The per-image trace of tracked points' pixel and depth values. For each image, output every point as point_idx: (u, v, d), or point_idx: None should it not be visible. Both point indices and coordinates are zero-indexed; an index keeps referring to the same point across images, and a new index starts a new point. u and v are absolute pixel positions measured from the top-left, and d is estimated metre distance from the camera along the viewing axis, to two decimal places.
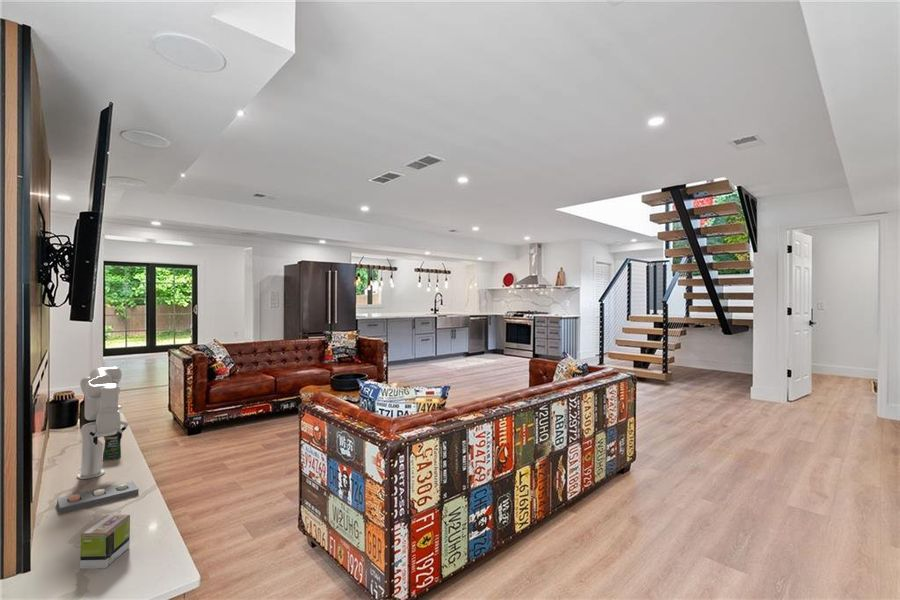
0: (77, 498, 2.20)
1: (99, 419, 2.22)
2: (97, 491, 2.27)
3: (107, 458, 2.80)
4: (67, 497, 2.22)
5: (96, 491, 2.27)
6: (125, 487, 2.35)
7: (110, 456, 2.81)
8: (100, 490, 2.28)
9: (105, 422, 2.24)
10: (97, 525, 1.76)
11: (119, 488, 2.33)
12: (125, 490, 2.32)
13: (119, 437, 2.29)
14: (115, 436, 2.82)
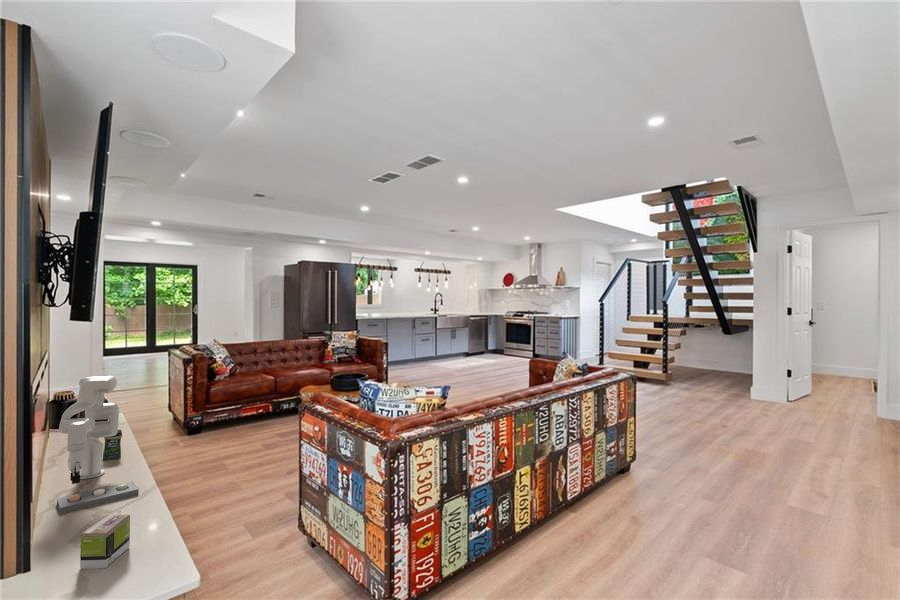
0: (77, 498, 2.20)
1: (82, 455, 2.19)
2: (97, 491, 2.27)
3: (107, 458, 2.80)
4: (67, 497, 2.22)
5: (96, 491, 2.27)
6: (125, 487, 2.35)
7: (110, 456, 2.81)
8: (100, 490, 2.28)
9: None
10: (97, 525, 1.76)
11: (119, 488, 2.33)
12: (125, 490, 2.32)
13: None
14: (115, 436, 2.82)
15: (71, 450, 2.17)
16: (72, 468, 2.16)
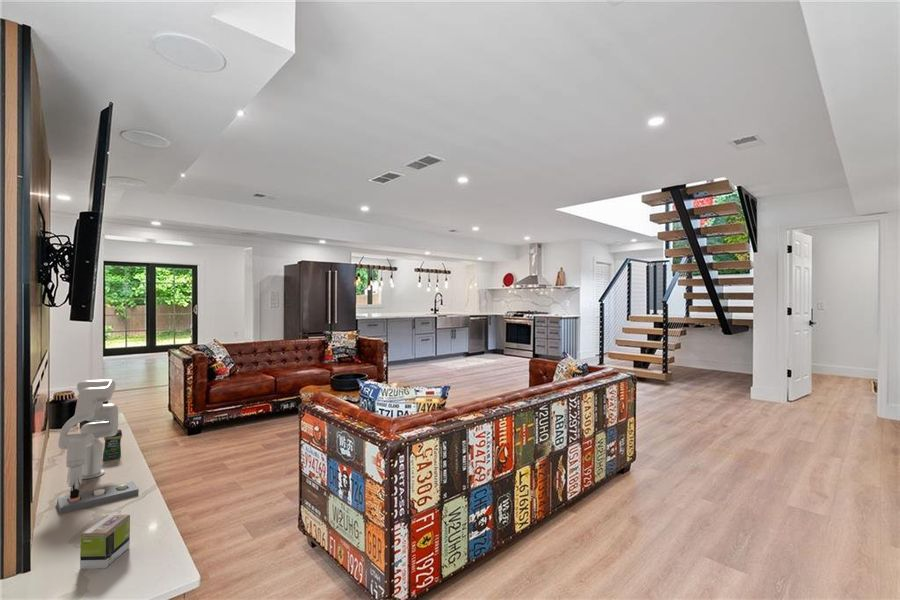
0: (77, 499, 2.20)
1: (81, 471, 2.19)
2: (97, 491, 2.27)
3: (107, 458, 2.80)
4: (67, 497, 2.22)
5: (96, 491, 2.27)
6: (125, 487, 2.35)
7: (110, 456, 2.81)
8: (100, 490, 2.28)
9: None
10: (97, 525, 1.76)
11: (119, 488, 2.33)
12: (125, 490, 2.32)
13: None
14: (115, 436, 2.82)
15: (70, 466, 2.17)
16: (71, 484, 2.16)
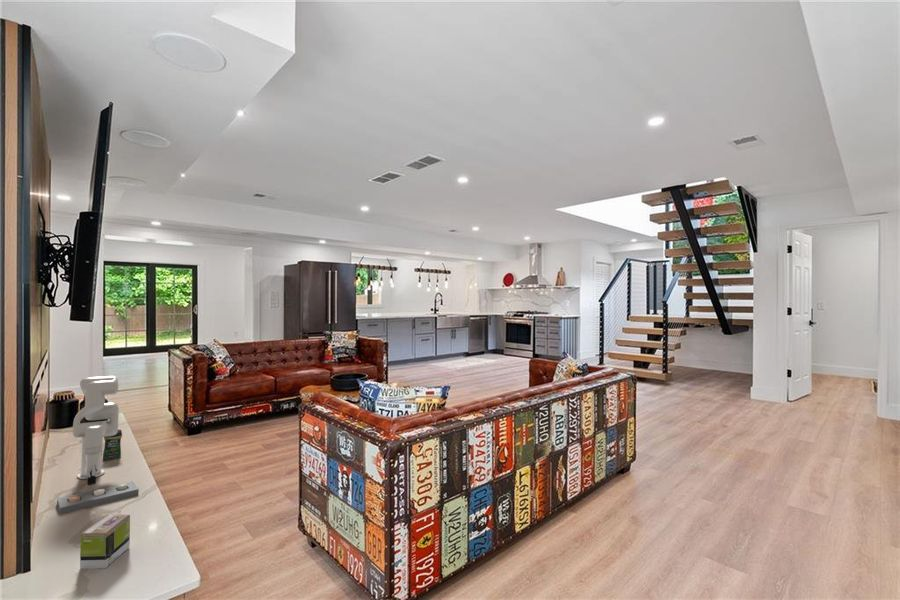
0: (77, 500, 2.20)
1: (98, 458, 2.24)
2: (97, 491, 2.27)
3: (107, 458, 2.80)
4: (67, 497, 2.22)
5: (96, 491, 2.27)
6: (125, 487, 2.35)
7: (110, 456, 2.81)
8: (100, 490, 2.28)
9: None
10: (97, 525, 1.76)
11: (119, 488, 2.33)
12: (125, 490, 2.32)
13: None
14: (115, 436, 2.82)
15: (87, 453, 2.22)
16: (88, 471, 2.21)
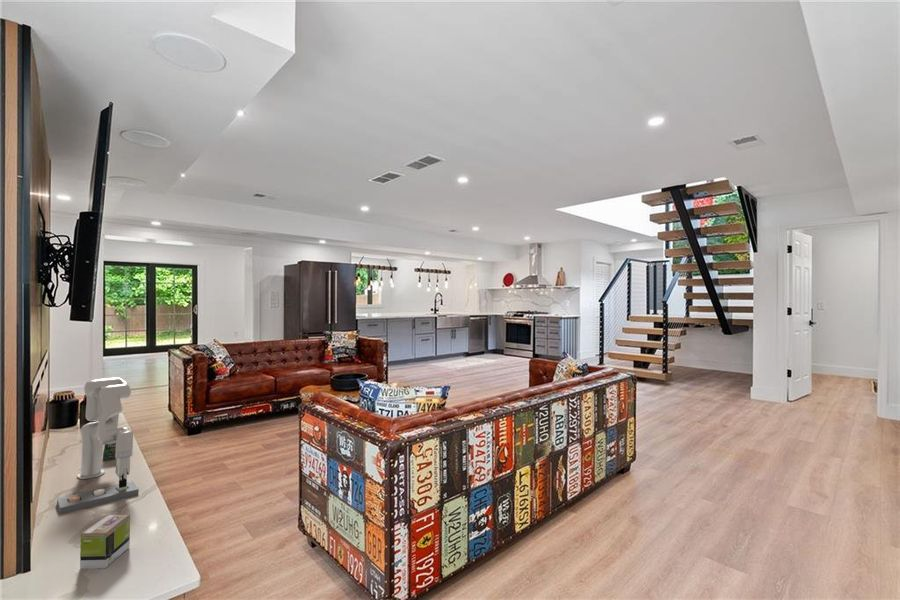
0: (77, 500, 2.20)
1: (129, 461, 2.34)
2: (97, 491, 2.27)
3: (107, 458, 2.80)
4: (67, 497, 2.22)
5: (96, 491, 2.27)
6: (125, 488, 2.35)
7: (110, 456, 2.81)
8: (100, 490, 2.28)
9: None
10: (97, 525, 1.76)
11: (119, 489, 2.33)
12: (125, 490, 2.32)
13: None
14: None
15: (119, 457, 2.32)
16: (121, 474, 2.30)
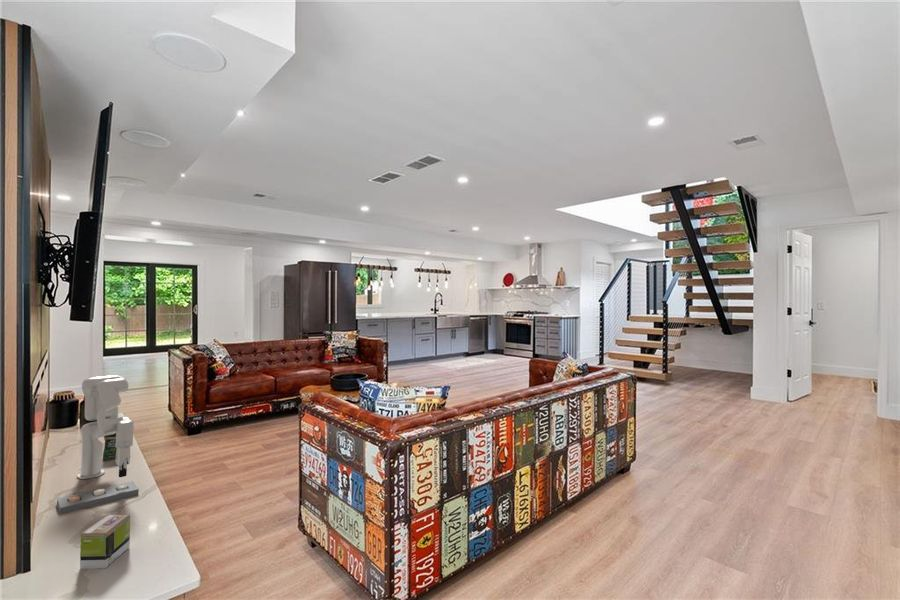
0: (77, 500, 2.20)
1: None
2: (97, 491, 2.27)
3: (107, 458, 2.80)
4: (67, 497, 2.22)
5: (96, 491, 2.27)
6: None
7: (110, 456, 2.81)
8: (100, 490, 2.28)
9: None
10: (97, 525, 1.76)
11: (119, 490, 2.33)
12: (125, 490, 2.32)
13: None
14: (115, 436, 2.82)
15: (120, 447, 2.32)
16: (121, 464, 2.31)
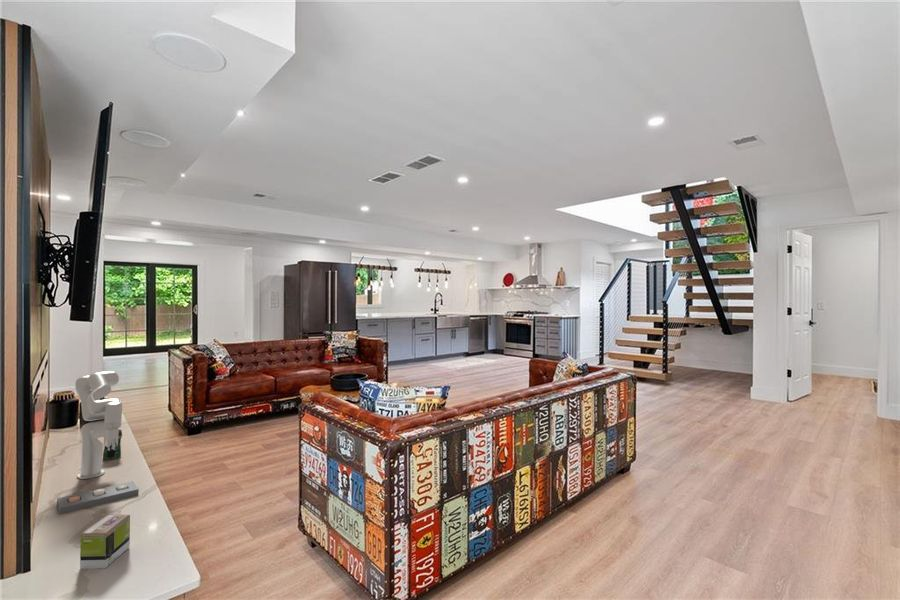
0: (77, 500, 2.20)
1: (118, 433, 2.37)
2: (97, 491, 2.27)
3: (107, 458, 2.80)
4: (67, 497, 2.22)
5: (96, 491, 2.27)
6: None
7: None
8: (100, 490, 2.28)
9: None
10: (97, 525, 1.76)
11: (119, 490, 2.33)
12: (125, 490, 2.32)
13: None
14: None
15: (108, 428, 2.34)
16: (109, 444, 2.33)
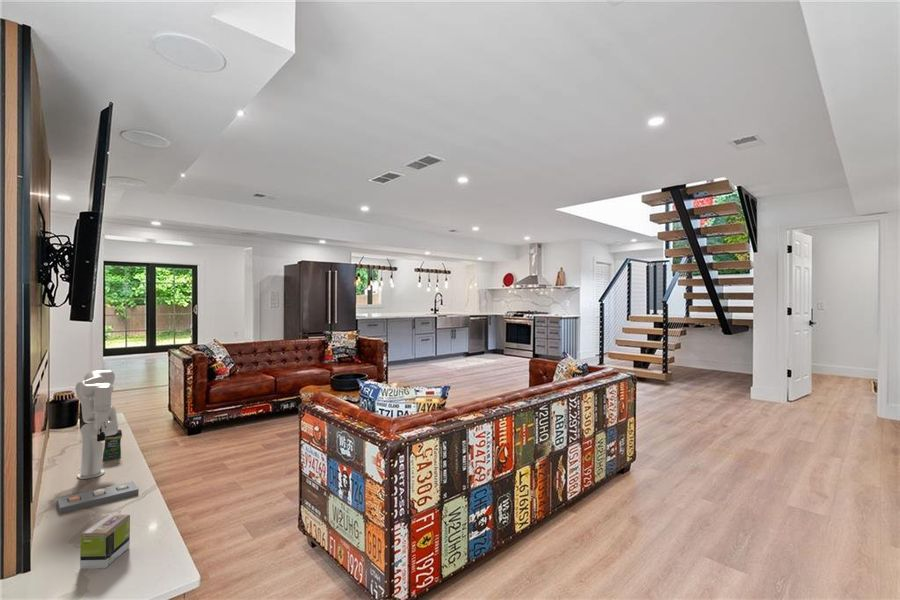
0: (77, 500, 2.20)
1: (107, 416, 2.38)
2: (97, 491, 2.27)
3: (107, 458, 2.80)
4: (67, 497, 2.22)
5: (96, 491, 2.27)
6: None
7: (110, 456, 2.81)
8: (100, 490, 2.28)
9: None
10: (97, 525, 1.76)
11: (119, 490, 2.33)
12: (125, 490, 2.32)
13: (104, 436, 2.41)
14: (115, 436, 2.82)
15: (97, 411, 2.36)
16: (98, 427, 2.35)
